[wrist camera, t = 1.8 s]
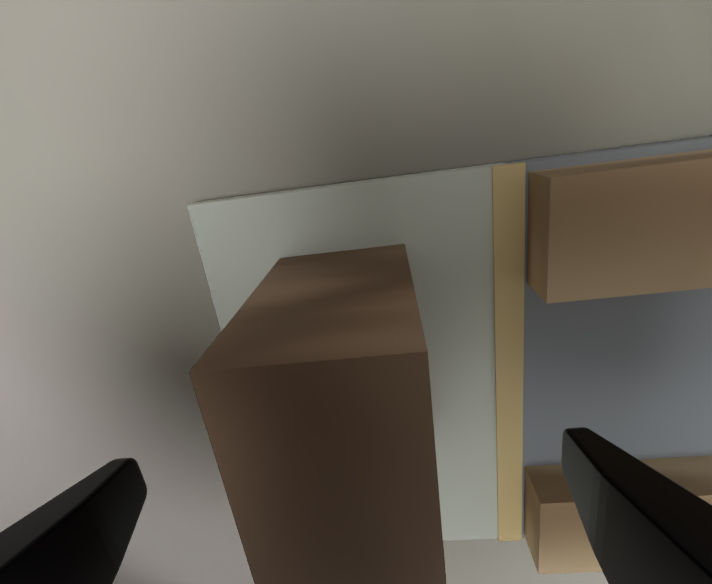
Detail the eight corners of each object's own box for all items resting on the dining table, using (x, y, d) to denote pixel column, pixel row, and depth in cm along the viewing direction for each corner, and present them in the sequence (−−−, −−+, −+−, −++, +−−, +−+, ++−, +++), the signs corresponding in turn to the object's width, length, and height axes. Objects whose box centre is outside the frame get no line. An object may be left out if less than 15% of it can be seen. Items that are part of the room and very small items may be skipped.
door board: (782, 510, 15) (801, 528, 14) (282, 533, 16) (278, 550, 16) (901, 111, 10) (937, 109, 10) (195, 202, 12) (185, 205, 11)
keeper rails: (799, 520, 14) (845, 562, 13) (523, 532, 15) (538, 573, 14) (929, 121, 10) (1020, 119, 8) (528, 171, 11) (550, 178, 9)
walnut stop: (404, 243, 11) (427, 351, 6) (422, 436, 14) (451, 647, 8) (280, 258, 12) (189, 372, 6) (317, 443, 14) (275, 651, 8)
